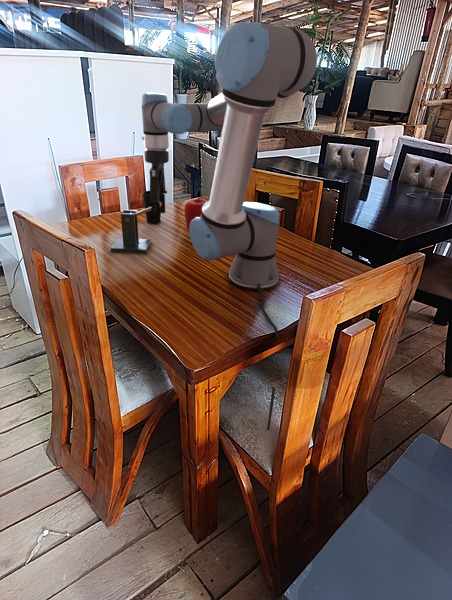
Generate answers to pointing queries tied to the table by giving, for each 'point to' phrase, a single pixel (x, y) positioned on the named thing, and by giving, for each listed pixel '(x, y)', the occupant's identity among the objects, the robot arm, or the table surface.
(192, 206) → the apple
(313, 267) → the table surface
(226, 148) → the robot arm
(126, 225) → the stand
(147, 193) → the cup
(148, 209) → the switch lever
